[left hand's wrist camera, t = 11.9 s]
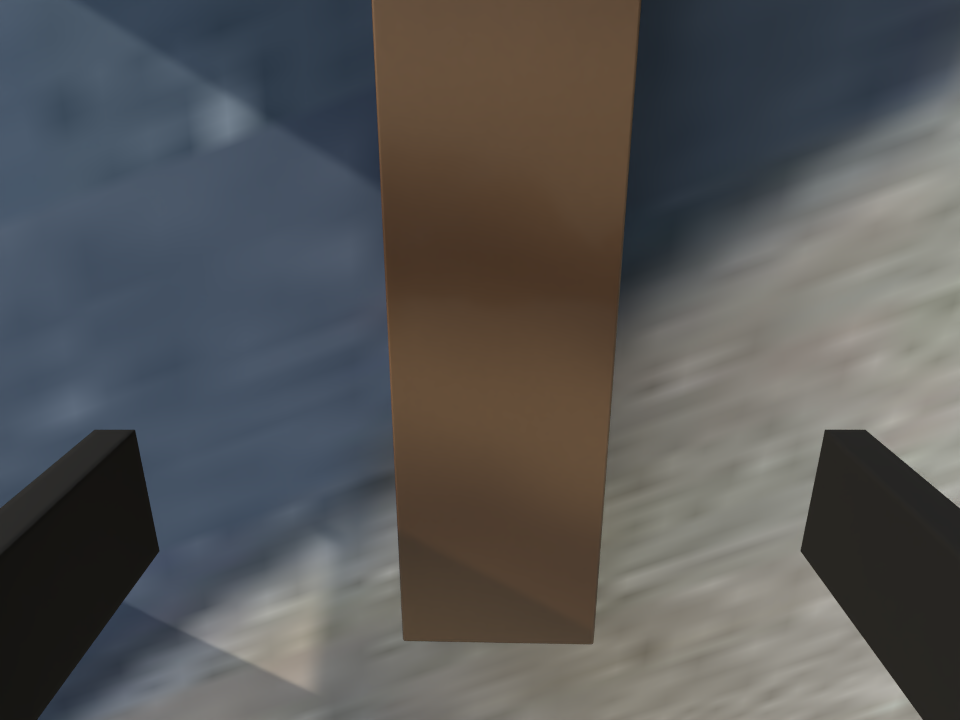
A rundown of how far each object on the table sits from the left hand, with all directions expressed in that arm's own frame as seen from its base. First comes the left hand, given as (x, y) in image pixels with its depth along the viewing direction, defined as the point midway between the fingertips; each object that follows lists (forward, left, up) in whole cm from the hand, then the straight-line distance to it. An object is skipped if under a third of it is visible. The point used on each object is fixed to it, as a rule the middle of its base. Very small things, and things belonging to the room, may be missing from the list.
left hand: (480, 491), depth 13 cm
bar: (+9, +26, -12) cm, 30 cm away
